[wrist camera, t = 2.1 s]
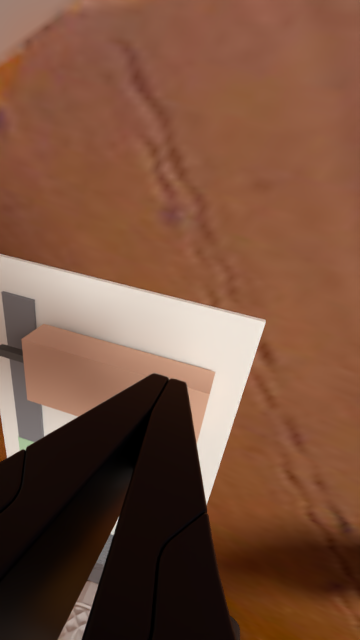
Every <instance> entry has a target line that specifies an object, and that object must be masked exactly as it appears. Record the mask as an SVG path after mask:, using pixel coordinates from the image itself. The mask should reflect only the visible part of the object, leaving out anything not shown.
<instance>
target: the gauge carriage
mask: <svg viewBox="0 0 360 640" xmlns="http://www.w3.org/2000/svg"><path fill="white" fill-rule="evenodd" d="M21 340H22V349H18V348H15V347H12V346H8V345H5V344H1V345H0V356H2V357H5V358H8V359H12V360H15V361H18V362H21V363H24V371H25V381H26V392H27V400H29V401H32V402H35V403H38V404H41V405H44V406H47V407H50V408H53V409H56V410H60V411H63V412H66V413H69V414H72V415H75V416H80V415H82V414H84V413H85V412H87V411H89V410H90V409H92V408H94V407H96V406H97V405H99V404H101V403H102V402H104V401H106V400H107V399H109V398H111V397H113V396H114V395H116V394H118V393H119V392H121V391H123V390H125V389H126V388H128V387H130V386H131V385H133V384H135V383H137V382H138V381H140V380H142V379H143V378H145V377H147V376H148V375H150V374H152V373H157V374H160V375H163V376H167V377H168V378H169V379H171V378H174V379H177V380H181V381H184V382H186V384H187V388H188V394H189V400H190V406H191V412H192V418H193V425H194V431H195V437H196V443H197V441H198V438H199V434H200V430H201V426H202V422H203V418H204V414H205V411H206V407H207V403H208V399H209V395H210V391H211V388H212V384H213V380H214V376H215V372H214V371H210V370H207V369H203V368H200V367H196V366H192V365H189V364H185V363H182V362H178V361H175V360H171V359H167V358H164V357H160V356H157V355H153V354H150V353H146V352H142V351H139V350H135V349H132V348H128V347H125V346H121V345H118V344H114V343H110V342H107V341H103V340H100V339H96V338H93V337H89V336H85V335H82V334H78V333H75V332H71V331H68V330H64V329H60V328H57V327H53V326H50V325H46V324H43V325H41V326H40V327H38V328H37V329H35V330H34V331H32V332H31V333H30V334H28V335H27V336H25V337H24V338H22V339H21Z"/></svg>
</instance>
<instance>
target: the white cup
mask: <svg viewBox="0 0 360 640" xmlns="http://www.w3.org/2000/svg"><path fill="white" fill-rule="evenodd" d="M97 587H98V584H97V583H94V582H92V581H87V582H86V584H85V586H84V588H83V590H82V592H81V594H80V596H79V598H78V600H77V602H76V604H75V606H74V608H73V610H72V612H71V614H70V616H69V618H68V620H67V622H66V624H65V626H64V628H63V630H62V632H61V634H60V636H59V638H58V640H82V636H83V633H84V630H85V627H86V623H87V620H88V617H89V614H90V610H91V607H92V604H93V601H94V597H95V594H96V591H97Z"/></svg>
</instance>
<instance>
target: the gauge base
mask: <svg viewBox="0 0 360 640" xmlns="http://www.w3.org/2000/svg"><path fill="white" fill-rule="evenodd" d="M265 323H266V320H264V319H260V318H256V317H252V316H248V315H244V314H240V313H236V312H232V311H228V310H224V309H220V308H216V307H212V306H208V305H204V304H200V303H196V302H192V301H188V300H184V299H180V298H176V297H172V296H168V295H164V294H160V293H156V292H152V291H148V290H144V289H140V288H136V287H132V286H128V285H124V284H119V283H115V282H111V281H107V280H103V279H99V278H95V277H91V276H87V275H83V274H79V273H75V272H71V271H67V270H63V269H59V268H55V267H51V266H47V265H43V264H39V263H35V262H31V261H27V260H23V259H19V258H15V257H11V256H7V255H3V254H0V345H1V344H5V345H8V346H12V347H15V348H18V349H22V340H21V339H22V338H24V337H25V336H27V335H28V334H30V333H31V332H32V331H34V330H35V329H37V328H38V327H40V326H41V325H43V324H46V325H50V326H53V327H57V328H60V329H64V330H68V331H71V332H75V333H78V334H82V335H85V336H89V337H93V338H96V339H100V340H103V341H107V342H110V343H114V344H118V345H121V346H125V347H128V348H132V349H135V350H139V351H142V352H146V353H150V354H153V355H157V356H160V357H164V358H167V359H171V360H175V361H178V362H182V363H185V364H189V365H192V366H196V367H200V368H203V369H207V370H210V371H214V372H215V376H214V380H213V384H212V388H211V391H210V395H209V399H208V403H207V407H206V411H205V414H204V418H203V422H202V426H201V430H200V434H199V438H198V441H197V449H198V455H199V462H200V468H201V474H202V480H203V486H204V492H205V499H206V505H207V502H208V499H209V496H210V493H211V490H212V487H213V484H214V480H215V477H216V474H217V471H218V468H219V465H220V462H221V459H222V456H223V453H224V450H225V446H226V443H227V440H228V437H229V434H230V431H231V428H232V425H233V422H234V419H235V415H236V412H237V409H238V406H239V403H240V400H241V397H242V394H243V391H244V388H245V384H246V381H247V378H248V375H249V372H250V369H251V366H252V363H253V360H254V357H255V354H256V350H257V347H258V344H259V341H260V338H261V335H262V332H263V329H264V326H265ZM0 414H1V421H2V427H3V434H4V440H5V447H6V453H7V458H8V457H10V456H12V455H13V454H15V453H17V452H18V451H20V450H22V449H24V450H25V451H26V447H27V446H29V445H31V444H32V443H34V442H36V441H37V440H39V439H41V438H43V437H44V436H46V435H48V434H49V433H51V432H53V431H55V430H56V429H58V428H60V427H61V426H63V425H65V424H66V423H68V422H70V421H72V420H73V419H75V418H77V417H78V416H75V415H72V414H69V413H66V412H63V411H60V410H56V409H53V408H50V407H47V406H44V405H41V404H38V403H35V402H32V401H29V400H27V392H26V381H25V371H24V363H21V362H18V361H15V360H12V359H8V358H5V357H2V356H0ZM118 519H119V518H118ZM117 522H118V520H117ZM117 522H116V524H115V526H114V528H113V530H112V532H111V534H110V536H109V538H108V540H107V542H106V544H105V546H104V548H103V550H102V552H101V554H100V556H99V558H98V560H97V562H96V564H95V566H94V568H93V570H92V572H91V574H90V576H89V578H88V580H89V581H92V582H94V583H97V584H99V581H100V578H101V574H102V571H103V568H104V565H105V561H106V558H107V555H108V551H109V548H110V545H111V542H112V538H113V535H114V532H115V529H116V525H117Z"/></svg>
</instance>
